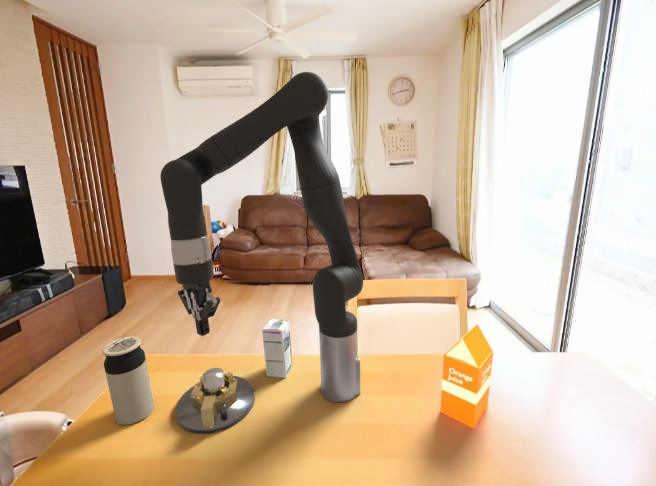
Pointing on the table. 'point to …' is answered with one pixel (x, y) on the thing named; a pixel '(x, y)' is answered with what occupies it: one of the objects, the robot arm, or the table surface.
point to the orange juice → (467, 378)
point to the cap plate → (226, 416)
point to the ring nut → (214, 399)
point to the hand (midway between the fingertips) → (203, 333)
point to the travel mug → (128, 380)
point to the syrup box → (277, 348)
